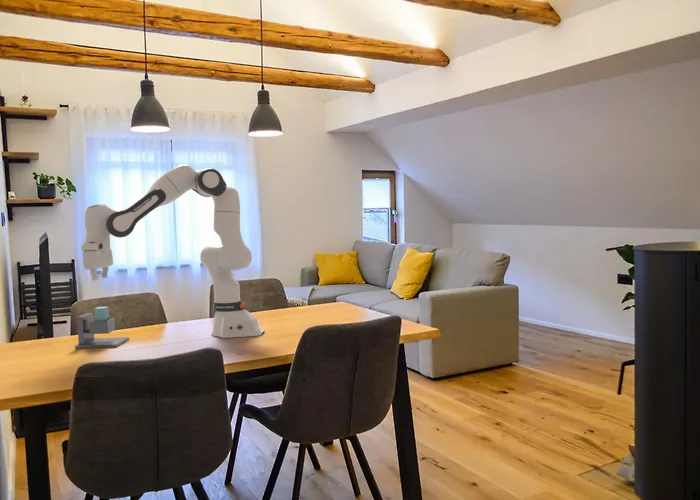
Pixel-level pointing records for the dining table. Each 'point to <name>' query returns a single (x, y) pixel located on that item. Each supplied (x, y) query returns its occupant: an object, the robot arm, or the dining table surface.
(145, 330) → the dining table surface
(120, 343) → the cup bracket
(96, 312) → the teal rectangular block
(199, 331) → the dining table surface
